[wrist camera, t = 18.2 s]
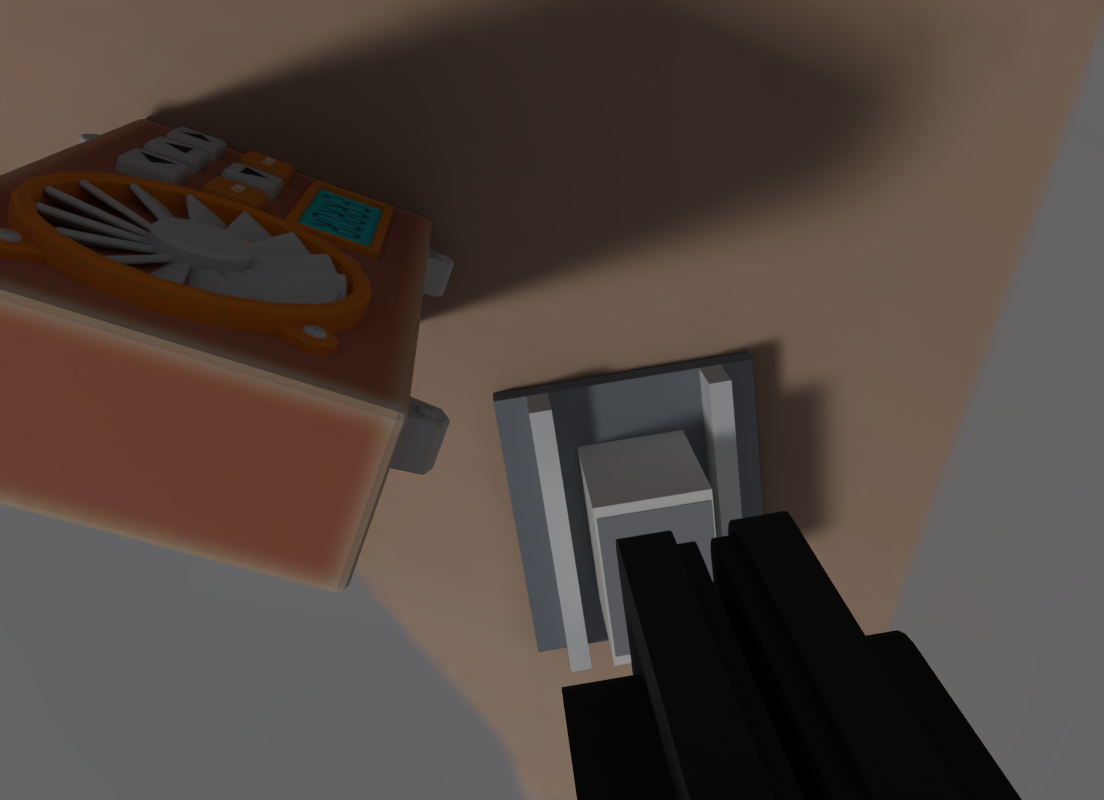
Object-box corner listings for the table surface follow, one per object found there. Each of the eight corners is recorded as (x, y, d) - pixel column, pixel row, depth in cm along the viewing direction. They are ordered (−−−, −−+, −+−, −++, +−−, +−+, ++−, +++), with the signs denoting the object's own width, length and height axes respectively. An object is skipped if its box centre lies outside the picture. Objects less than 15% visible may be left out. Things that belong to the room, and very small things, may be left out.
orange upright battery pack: (111, 87, 40) (466, 213, 43) (77, 248, 42) (416, 357, 45) (-229, 183, 20) (470, 403, 23) (-259, 475, 23) (381, 640, 26)
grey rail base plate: (493, 393, 46) (494, 419, 44) (747, 351, 47) (765, 374, 44) (537, 640, 52) (541, 676, 49) (764, 601, 52) (781, 636, 49)
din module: (577, 446, 47) (592, 509, 41) (682, 429, 47) (712, 489, 41) (597, 590, 50) (614, 666, 44) (696, 574, 50) (725, 647, 44)
